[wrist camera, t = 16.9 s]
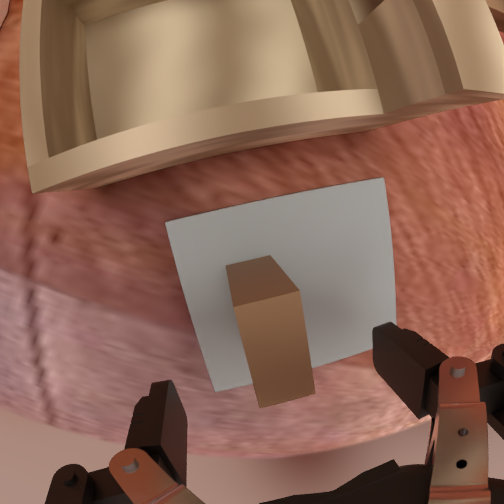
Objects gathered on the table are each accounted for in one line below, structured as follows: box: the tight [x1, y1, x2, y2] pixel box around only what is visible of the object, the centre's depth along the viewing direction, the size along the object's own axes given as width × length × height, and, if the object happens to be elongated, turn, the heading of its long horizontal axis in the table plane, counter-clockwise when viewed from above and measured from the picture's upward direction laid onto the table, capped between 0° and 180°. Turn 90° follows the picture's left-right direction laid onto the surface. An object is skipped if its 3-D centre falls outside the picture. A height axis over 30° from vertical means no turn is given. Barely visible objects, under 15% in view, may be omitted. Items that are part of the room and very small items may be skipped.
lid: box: [165, 177, 396, 408], centre depth 16 cm, size 13×11×7 cm
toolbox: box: [19, 0, 504, 194], centre depth 10 cm, size 16×11×11 cm
